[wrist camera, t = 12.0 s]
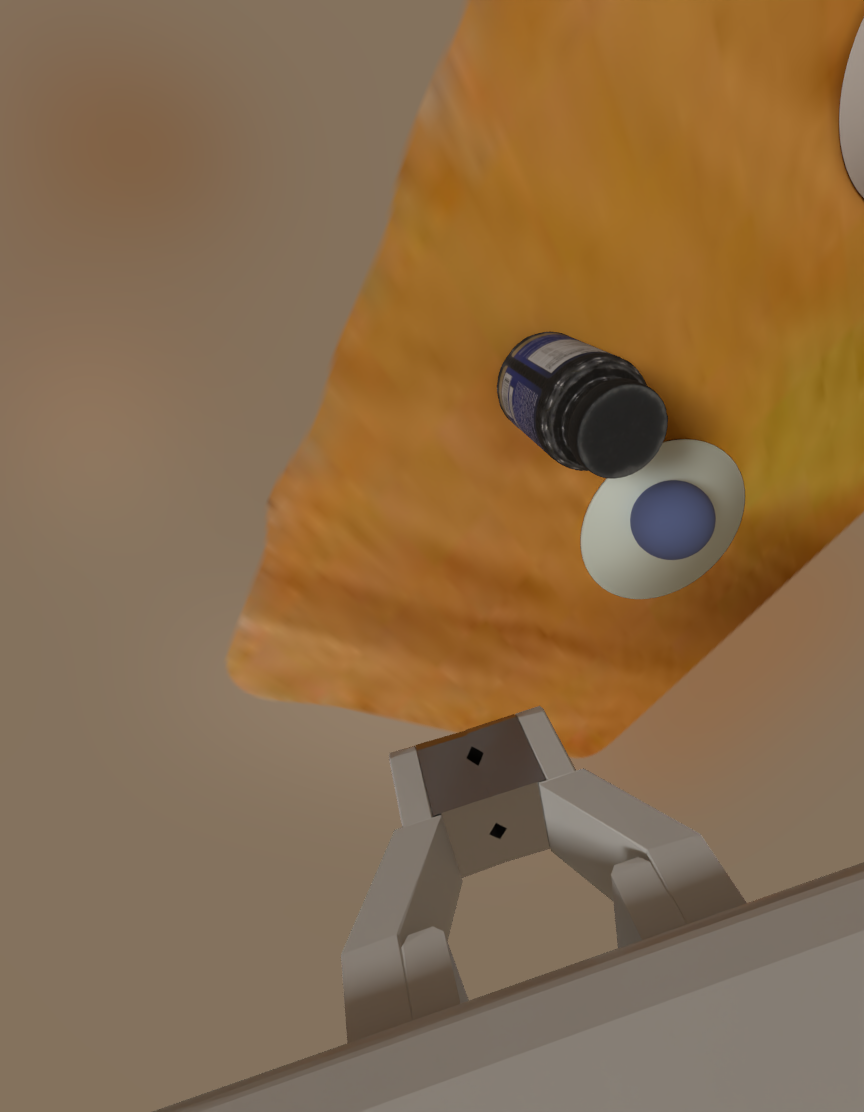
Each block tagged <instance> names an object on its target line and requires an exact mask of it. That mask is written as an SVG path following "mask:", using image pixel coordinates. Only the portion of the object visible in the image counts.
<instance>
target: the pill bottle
mask: <svg viewBox="0 0 864 1112" xmlns="http://www.w3.org/2000/svg"><path fill="white" fill-rule="evenodd" d="M497 393H498V398H499V403H500V407H501V409H502V410H503V412H504V414H505V415H506V417H507V418H508V419H509V420H510V421H511V422H512V423H513V424H514V425H516V426H517V427H518V428H519V429H520V430H522V431H523V432H524V433H525V434H526V435H527V436H528V437H529V438H531V439H532V440H533V441H534V442H535V443H536V444H537V445H538V446H540V447H541V448H542V449H543V450H544V451H545V452H546V453H547V454H548V455H550V457H552V458H553V459H554V460H556V461H557V462H558V463H560V464H562V465H563V466H566V467H568V468H571V469H575V470H580V471H582V470H584V471H590V472H592V473H594V474H595V475H597V476H600V477H603V478H610V479H613V478H614V479H615V478H622V477H626V476H628V475H631V474H634V473H635V472H637V471H639V470H641V469H642V468H643V467H645V466H646V465H647V464H648V463H649V462H650V461H651V460H652V459H653V458H654V456H655V455H656V454H657V453H658V451H659V449H660V447H661V445H662V443H663V441H664V439H665V435H666V431H667V422H668V416H667V413H666V408H665V405H664V403H663V401H662V400H661V398H660V397H659V395H658V394H657V393H656V392H655V391H653V390H652V389H651V388H649V387H648V386H647V385H646V382H645V380H644V379H643V377H642V375H641V374H640V373H639V371H638V370H637V369H636V368H635V367H634V366H633V365H632V364H631V363H630V362H628V361H626V360H624V359H622V358H620V357H618V356H615V355H612V354H610V353H608V352H605V351H603V350H600V349H598V348H596V347H593V346H591V345H588V344H586V343H583V342H581V341H579V340H576V339H574V338H571V337H569V336H567V335H565V334H562V333H556V332H543V333H538V334H535V335H532V336H529V337H527V338H525V339H524V340H522V341H521V342H520V343H518V344H517V345H516V346H515V347H514V348H513V349H512V351H511V352H510V354H509V355H508V356H507V358H506V359H505V361H504V362H503V364H502V367H501V369H500V372H499V376H498V383H497Z"/></svg>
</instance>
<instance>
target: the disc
mask: <svg viewBox="0 0 864 1112" xmlns="http://www.w3.org/2000/svg"><path fill="white" fill-rule="evenodd" d="M668 480H679V481H685V482H688V483H691V484H693V485H695V486H697V487H698V488H700V489H701V490H702V491H703V492H704V493H705V494H706V495H707V496H708V497H709V499H710V500H711V502H712V504H713V507H714V510H715V516H716V522H715V528H714V532H713V534H712V537H711V538H710V540H709V541H708V543H707V544H706V545H705V546H704V547H703V548H702V549H701V550H700V551H699V552H697V553H696V554H694V555H692V556H689V557H687V558H684V559H679V560H665V559H660V558H657V557H655V556H652V555H650V554H649V553H647V552H646V551H644V550H643V549H642V548H641V547H640V546H639V545H638V543H637V542H636V540H635V538H634V536H633V534H632V531H631V526H630V516H631V511H632V508H633V505H634V503H635V501H636V500H637V498H638V497H639V496H640V495H641V494H642V493H643V492H644V491H645V490H646V489H647V488H649V487H651V486H652V485H654V484H657V483H659V482H663V481H668ZM744 503H745V490H744V483H743V479H742V476H741V473H740V471H739V469H738V467H737V465H736V464H735V462H734V461H733V460H732V459H731V457H730V456H728V455H727V454H726V453H725V452H724V451H723V450H721V449H719V448H718V447H716V446H714V445H712V444H709V443H707V442H704V441H699V440H692V439H679V440H671V441H666V442H663V443H662V445H661V447H660V449H659V451H658V453H657V454H656V455H655V456H654V458H653V459H652V460H651V461H650V462H649V463H648V464H647V465H646V466H645V467H643V468H642V469H641V470H639V471H637V472H635V473H634V474H631V475H628V476H626V477H622V478H615V479H614V478H613V479H610V478H606V480H605V481H604V482H603V483H602V484H601V486H600V487H599V489H598V490H597V492H596V493H595V495H594V496H593V498H592V500H591V502H590V504H589V506H588V509H587V511H586V514H585V516H584V520H583V524H582V529H581V537H580V541H581V553H582V558H583V561H584V564H585V566H586V568H587V570H588V572H589V574H590V575H591V576H592V578H593V579H594V580H595V581H596V582H597V583H598V584H599V585H600V586H601V587H602V588H604V589H605V590H607V591H609V592H610V593H613V594H615V595H617V596H621V597H625V598H631V599H648V598H656V597H660V596H664V595H667V594H670V593H672V592H675V591H677V590H679V589H681V588H683V587H685V586H687V585H689V584H690V583H692V582H694V581H695V580H697V579H698V578H699V577H701V576H702V575H703V574H704V573H706V572H707V571H708V570H709V569H710V568H711V567H712V566H713V565H714V564H715V563H716V562H717V561H718V560H719V559H720V557H721V556H722V555H723V554H724V552H725V551H726V550H727V548H728V547H729V545H730V543H731V542H732V540H733V538H734V536H735V534H736V532H737V530H738V527H739V525H740V522H741V519H742V515H743V511H744Z"/></svg>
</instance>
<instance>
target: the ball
mask: <svg viewBox="0 0 864 1112" xmlns="http://www.w3.org/2000/svg"><path fill="white" fill-rule="evenodd" d="M715 522H716V516H715V510H714V507H713V504H712V502H711V500H710V499H709V497H708V496H707V495H706V494H705V493H704V492H703V491H702V490H701V489H700V488H698V487H697V486H695V485H693V484H691V483H688V482H685V481H679V480H668V481H663V482H659V483H657V484H654V485H652V486H651V487H649V488H647V489H646V490H645V491H644V492H643V493H642V494H641V495H640V496H639V497H638V498H637V500H636V501H635V503H634V505H633V508H632V511H631V516H630V526H631V531H632V534H633V536H634V538H635V540H636V542H637V543H638V545H639V546H640V547H641V548H642V549H643V550H644V551H646V552H647V553H649V554H650V555H652V556H655V557H657V558H660V559H665V560H679V559H684V558H687V557H689V556H692V555H694V554H696V553H697V552H699V551H700V550H701V549H702V548H703V547H704V546H705V545H706V544H707V543H708V541H709V540H710V538H711V537H712V534H713V532H714V528H715Z"/></svg>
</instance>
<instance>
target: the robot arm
mask: <svg viewBox="0 0 864 1112" xmlns="http://www.w3.org/2000/svg"><path fill="white" fill-rule="evenodd" d="M839 129H840V142H841V149H842V154H843V158H844V162H845V165H846V169H847V171H848V174H849V176H850V178H851V180H852V182H853V184H854V186H855V187H856V189H857V190H858V192H859V193H860V194H861V195H862V197H863V198H864V18H863V21H862V23H861V25H860V28H859V30H858V33H857V35H856V38H855V41H854V44H853V47H852V49H851V52H850V56H849V60H848V63H847V67H846V71H845V75H844V81H843V86H842V92H841V100H840V114H839ZM389 761H390V766H391V771H392V776H393V782H394V787H395V792H396V797H397V802H398V807H399V812H400V818H401V822H402V828H399V829H396V830H394V833H393V835H392V837H391V840H390V842H389V844H388V847H387V849H386V851H385V854H384V856H383V858H382V861H381V863H380V865H379V868H378V870H377V872H376V875H375V877H374V879H373V882H372V884H371V887H370V889H369V891H368V893H367V896H366V898H365V900H364V902H363V905H362V907H361V909H360V912H359V914H358V917H357V919H356V921H355V923H354V926H353V928H352V930H351V933H350V935H349V937H348V940H347V942H346V944H345V947H344V949H343V951H342V954H341V961H342V974H343V988H344V1001H345V1013H346V1014H345V1016H346V1029H347V1041H348V1042H347V1044H344V1045H341V1046H338V1047H336V1048H333V1049H330V1050H327V1051H324V1052H322V1053H318V1054H316V1055H313V1056H310V1057H307V1058H304V1059H302V1060H298V1061H296V1062H293V1063H290V1064H287V1065H284V1066H281V1067H279V1068H276V1069H273V1070H270V1071H267V1072H264V1073H261V1074H259V1075H256V1076H253V1077H250V1078H248V1079H244V1080H241V1081H239V1082H236V1083H233V1084H230V1085H227V1086H224V1087H222V1088H219V1089H216V1090H213V1091H210V1092H207V1093H204V1094H201V1095H199V1096H196V1097H193V1098H190V1099H187V1100H185V1101H181V1102H179V1103H176V1104H173V1105H170V1106H167V1107H164V1108H162V1109H159V1110H156V1111H153V1112H864V862H863V863H860V864H858V865H855V866H852V867H849V868H846V869H843V870H840V871H838V872H835V873H832V874H829V875H826V876H824V877H820V878H818V879H815V880H812V881H809V882H806V883H803V884H800V885H798V886H795V887H792V888H789V889H786V890H783V891H780V892H778V893H775V894H772V895H769V896H766V897H763V898H760V899H758V900H755V901H752V902H749V903H746V901H745V900H744V898H743V897H742V895H741V894H740V892H739V891H738V889H737V888H736V886H735V885H734V883H733V882H732V880H731V879H730V877H729V876H728V874H727V873H726V871H725V870H724V868H723V867H722V865H721V864H720V862H719V861H718V860H717V858H716V856H715V855H714V853H713V852H712V851H711V849H710V848H709V846H708V845H707V843H706V842H705V840H704V839H703V837H702V836H701V834H699V833H698V832H696V831H694V830H692V829H690V828H689V827H687V826H685V825H683V824H682V823H680V822H678V821H676V820H675V819H673V818H671V817H669V816H667V815H666V814H664V813H662V812H660V811H659V810H657V809H655V808H653V807H651V806H650V805H648V804H646V803H644V802H643V801H641V800H639V799H637V798H636V797H634V796H632V795H630V794H628V793H626V792H625V791H623V790H621V789H619V788H618V787H616V786H614V785H612V784H611V783H609V782H607V781H605V780H604V779H602V778H600V777H598V776H596V775H595V774H593V773H591V772H589V771H588V770H586V769H584V768H583V769H580V770H576V769H575V768H574V766H573V764H572V762H571V760H570V758H569V756H568V754H567V752H566V750H565V749H564V747H563V745H562V743H561V741H560V739H559V737H558V735H557V734H556V732H555V730H554V728H553V726H552V724H551V722H550V720H549V718H548V717H547V715H546V713H545V711H544V709H543V708H542V707H540V706H538V707H535V708H532V709H529V710H526V711H523V712H519V713H516V714H515V715H514V714H513V715H510V716H507V717H504V718H501V719H498V720H494V721H491V722H488V723H485V724H482V725H479V726H476V727H473V728H470V729H467V730H465V731H463V732H459V733H456V734H452V735H449V736H445V737H442V738H439V739H435V740H432V741H428V742H424V743H421V744H418V745H416V746H412V747H409V748H406V749H402V750H398V751H395V752H392V753H390V754H389ZM550 848H551V851H552V852H553V853H554V854H556V855H557V856H558V857H559V858H560V859H562V860H563V861H564V862H565V863H567V864H568V865H569V866H570V867H572V868H573V869H574V870H575V871H577V872H578V873H579V874H580V875H581V876H583V877H584V878H585V879H586V880H587V881H589V882H590V883H591V884H592V885H594V886H595V887H596V888H597V889H599V890H600V891H601V892H602V893H603V894H605V895H606V896H607V897H608V898H610V899H611V900H612V901H613V902H614V911H615V922H616V932H617V943H618V949H615V950H612V951H609V952H606V953H603V954H601V955H598V956H595V957H592V958H589V959H587V960H583V961H581V962H578V963H575V964H572V965H569V966H566V967H564V968H561V969H558V970H555V971H552V972H549V973H547V974H544V975H541V976H538V977H535V978H532V979H529V980H527V981H524V982H521V983H518V984H515V985H513V986H509V987H507V988H504V989H501V990H498V991H495V992H492V993H490V994H487V995H484V996H481V997H478V998H475V999H473V1000H470V1001H469V1000H468V997H467V994H466V991H465V989H464V986H463V983H462V980H461V978H460V975H459V972H458V969H457V967H456V964H455V961H454V959H453V956H452V953H451V950H450V948H449V945H448V942H447V941H448V937H449V933H450V929H451V925H452V921H453V917H454V913H455V909H456V905H457V901H458V897H459V893H460V889H461V885H462V878H463V877H466V876H469V875H472V874H474V873H477V872H480V871H482V870H485V869H488V868H490V867H493V866H496V865H499V864H502V863H504V862H505V861H506V862H507V861H510V860H514V859H517V858H520V857H523V856H527V855H530V854H534V853H537V852H540V851H544V850H547V849H550Z"/></svg>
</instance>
